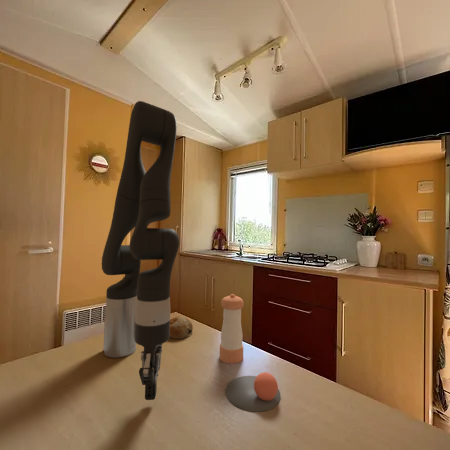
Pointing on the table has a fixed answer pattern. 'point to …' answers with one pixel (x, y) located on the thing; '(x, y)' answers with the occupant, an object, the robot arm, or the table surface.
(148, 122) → the robot arm
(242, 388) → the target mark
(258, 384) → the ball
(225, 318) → the pepper shaker
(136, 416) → the table surface
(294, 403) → the table surface
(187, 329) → the bread roll
